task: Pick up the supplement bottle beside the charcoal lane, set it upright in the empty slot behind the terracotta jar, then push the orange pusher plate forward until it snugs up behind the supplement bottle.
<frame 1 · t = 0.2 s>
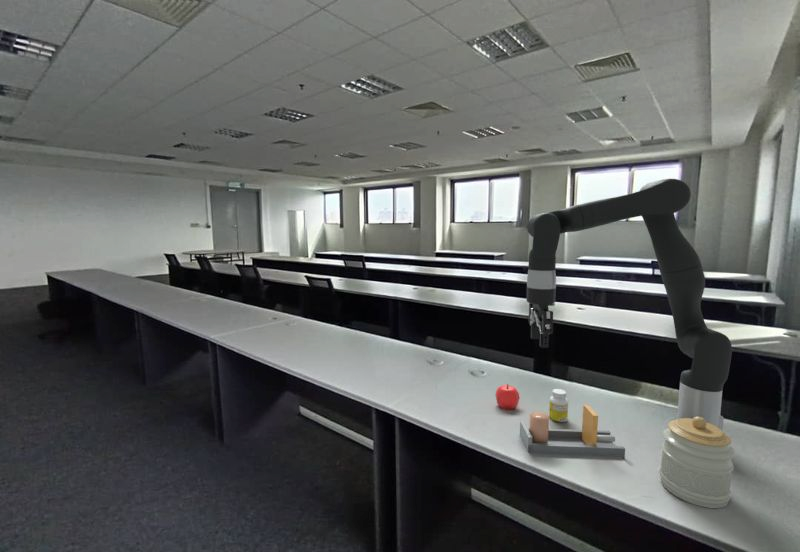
hand: (539, 342, 107), 28 cm above the table, tool pointing down, fingers open, 8 cm apart
terracotta jar: (538, 443, 106), point 1 cm above the table, touching lane
pusher plate: (600, 427, 104), point 6 cm above the table, slide at 0.0 cm
supplement bottle: (558, 421, 120), on the table
lane: (569, 447, 105), on the table
jar: (692, 490, 88), on the table
apple: (507, 407, 130), on the table
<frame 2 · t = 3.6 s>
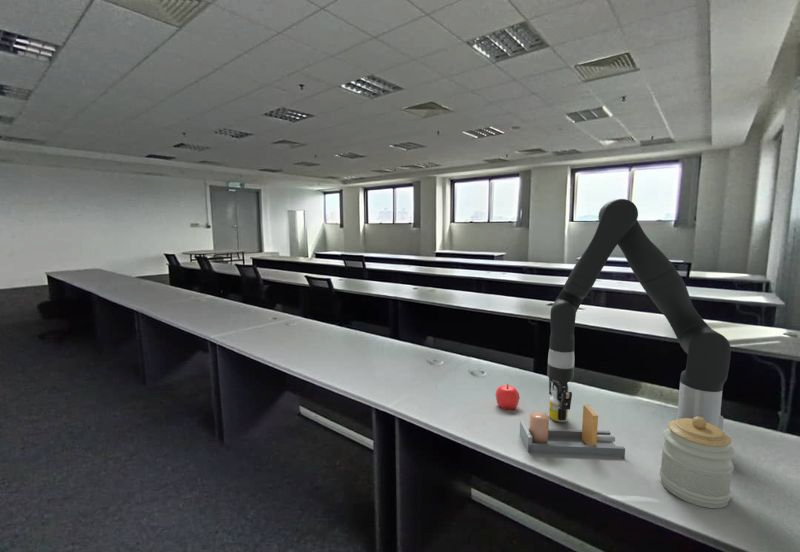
hand: (558, 414, 120), 2 cm above the table, tool pointing down, fingers closed on supplement bottle, 5 cm apart
supplement bottle: (558, 421, 120), on the table, touching gripper
everything else where it was.
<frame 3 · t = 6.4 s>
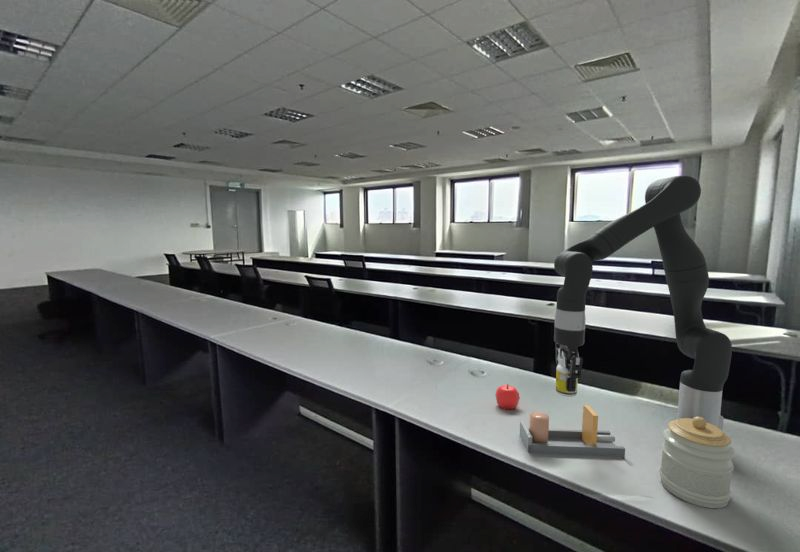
hand: (566, 386, 104), 17 cm above the table, tool pointing down, fingers closed on supplement bottle, 5 cm apart
supplement bottle: (565, 393, 104), point 15 cm above the table, touching gripper
everything else where it was.
when the fingers open (4 cm above the table, at t = 9.5 s): supplement bottle drops 1 cm, resting on lane.
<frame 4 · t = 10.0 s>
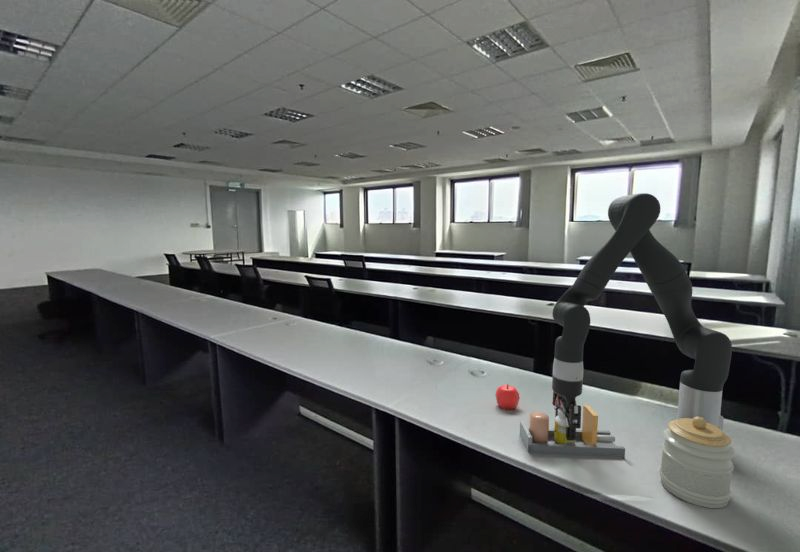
hand: (564, 431, 105), 5 cm above the table, tool pointing down, fingers open, 8 cm apart
supplement bottle: (564, 445, 105), point 1 cm above the table, touching lane
everything else where it was.
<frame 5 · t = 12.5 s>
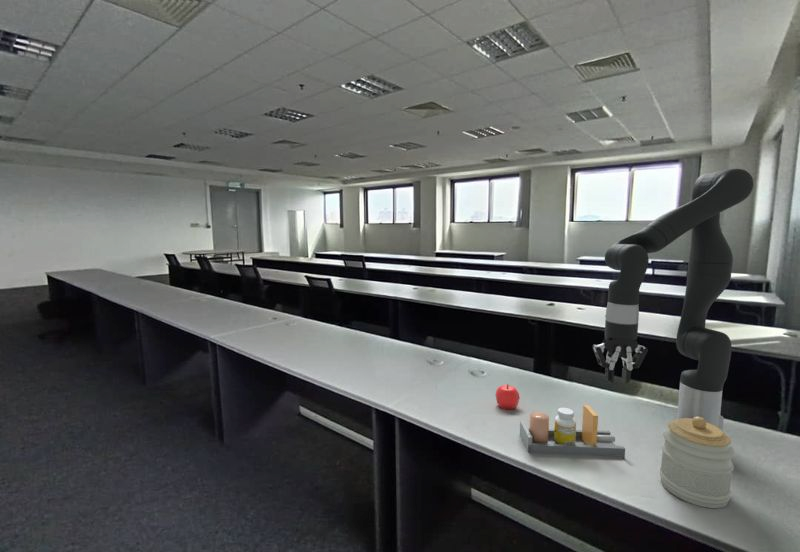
hand: (617, 382, 102), 19 cm above the table, tool pointing down, fingers open, 3 cm apart
nothing on the table moved.
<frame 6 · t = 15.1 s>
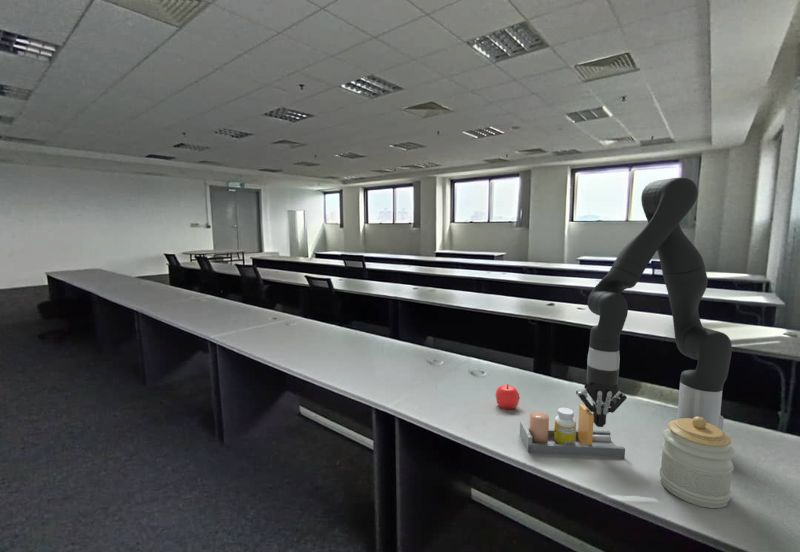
hand: (599, 425, 104), 7 cm above the table, tool pointing down, fingers closed
pusher plate: (596, 427, 104), point 6 cm above the table, slide at 1.1 cm, touching gripper
everything else where it was.
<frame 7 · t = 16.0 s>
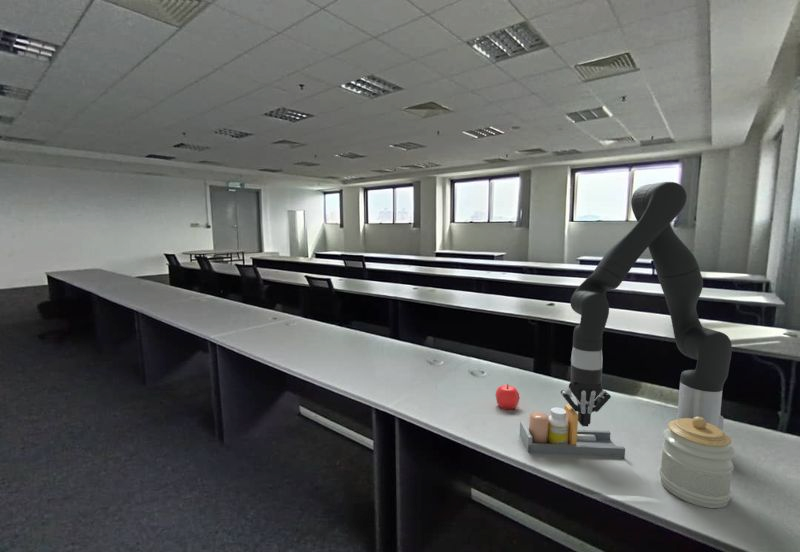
hand: (584, 424, 104), 7 cm above the table, tool pointing down, fingers closed
terracotta jar: (538, 443, 106), point 1 cm above the table, touching supplement bottle, lane
pusher plate: (581, 427, 104), point 6 cm above the table, slide at 5.2 cm, touching supplement bottle, gripper
supplement bottle: (557, 444, 105), point 1 cm above the table, touching lane, pusher plate, terracotta jar
everything else where it was.
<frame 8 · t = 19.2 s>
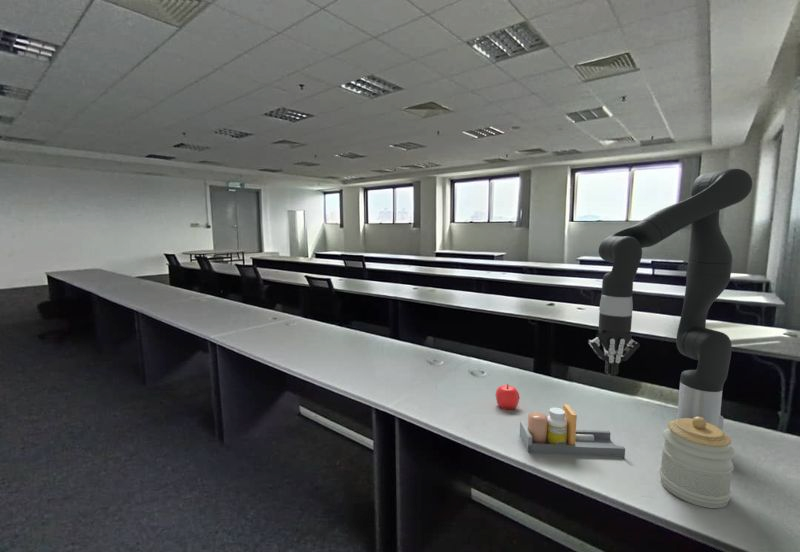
hand: (611, 375, 102), 21 cm above the table, tool pointing down, fingers closed
pusher plate: (580, 427, 104), point 6 cm above the table, slide at 5.5 cm
supplement bottle: (555, 444, 105), point 1 cm above the table, touching lane, terracotta jar
everything else where it was.
at the end: supplement bottle 1.8 cm from the target spot on the lane, point 0.6 cm above the lane's base; supplement bottle tilted 0°; pusher plate slide at 5.5 cm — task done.
